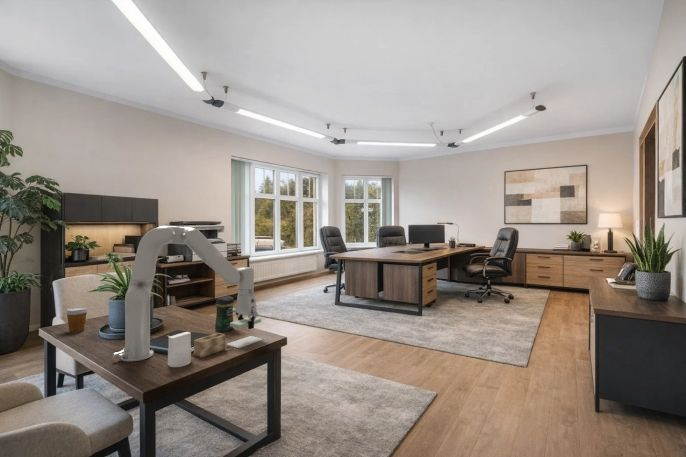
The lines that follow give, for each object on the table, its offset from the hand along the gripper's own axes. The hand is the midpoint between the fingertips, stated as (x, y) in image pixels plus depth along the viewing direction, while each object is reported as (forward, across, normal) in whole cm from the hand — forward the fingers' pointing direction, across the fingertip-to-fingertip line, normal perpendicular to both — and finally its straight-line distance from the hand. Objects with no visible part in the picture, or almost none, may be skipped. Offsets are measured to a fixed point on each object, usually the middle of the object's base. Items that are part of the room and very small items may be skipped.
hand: (245, 326), depth 179 cm
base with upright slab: (+8, +2, +34) cm, 35 cm away
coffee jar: (+8, +25, -7) cm, 27 cm away
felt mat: (+8, 0, 0) cm, 8 cm away
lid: (-1, 0, 0) cm, 1 cm away
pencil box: (+8, +2, +19) cm, 21 cm away
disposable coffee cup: (+7, +85, +42) cm, 95 cm away
